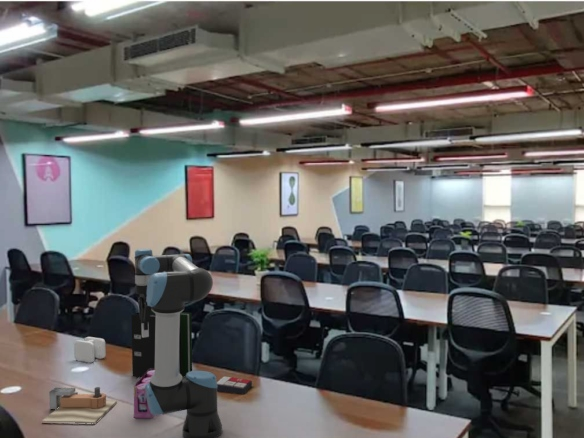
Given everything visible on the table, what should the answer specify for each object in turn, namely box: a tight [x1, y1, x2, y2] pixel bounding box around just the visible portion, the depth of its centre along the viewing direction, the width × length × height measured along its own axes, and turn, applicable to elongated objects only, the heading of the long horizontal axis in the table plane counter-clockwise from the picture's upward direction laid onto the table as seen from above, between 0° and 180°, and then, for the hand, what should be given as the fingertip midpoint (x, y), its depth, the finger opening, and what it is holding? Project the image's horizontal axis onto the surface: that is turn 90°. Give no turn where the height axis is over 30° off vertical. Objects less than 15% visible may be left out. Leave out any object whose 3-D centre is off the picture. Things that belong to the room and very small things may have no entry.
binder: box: [130, 309, 193, 379], centre depth 266 cm, size 27×15×32 cm, turn 67°
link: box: [60, 392, 107, 408], centre depth 225 cm, size 18×7×4 cm, turn 90°
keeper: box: [48, 387, 78, 410], centre depth 227 cm, size 7×9×8 cm
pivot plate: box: [41, 386, 118, 425], centre depth 220 cm, size 22×22×9 cm
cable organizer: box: [73, 336, 106, 364], centre depth 295 cm, size 15×11×12 cm
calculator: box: [217, 375, 253, 395], centre depth 248 cm, size 11×4×15 cm
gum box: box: [133, 369, 155, 419], centre depth 225 cm, size 24×8×14 cm, turn 179°
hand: (145, 336), depth 231 cm, fingers closed
